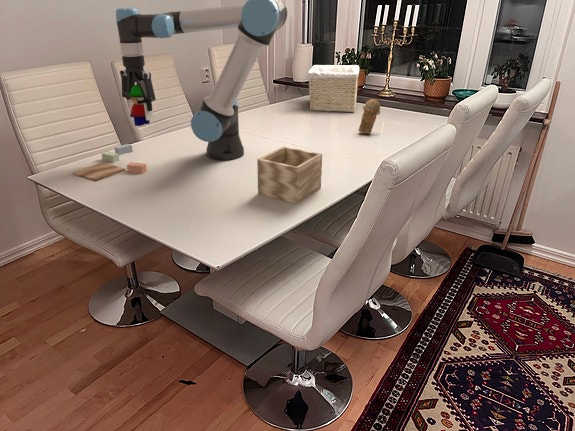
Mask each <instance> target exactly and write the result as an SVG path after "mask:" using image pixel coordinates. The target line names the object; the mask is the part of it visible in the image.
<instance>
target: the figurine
mask: <svg viewBox="0 0 575 431" xmlns="http://www.w3.org/2000/svg"><path fill="white" fill-rule="evenodd" d="M362 110H363V113H362V116H361V121H360V124H359V127H358V132H359V133H365V134H367V135H368V134H371V133H372V132H373V127H374V125H375V122H376V120H377V116H378V115H380V114H381V105H380V102H379V101H378V100H377V99H374V98H373V99H369V100H367V101H366V103H365V104H364V105H363V106H362Z"/></svg>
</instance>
